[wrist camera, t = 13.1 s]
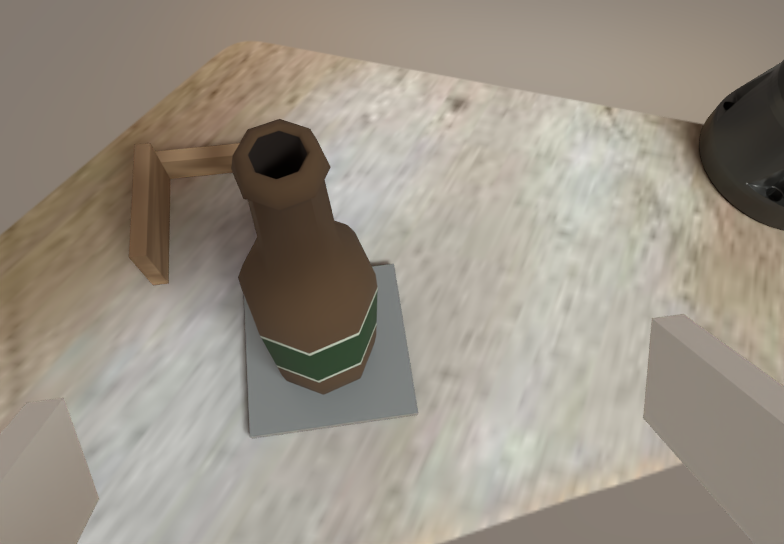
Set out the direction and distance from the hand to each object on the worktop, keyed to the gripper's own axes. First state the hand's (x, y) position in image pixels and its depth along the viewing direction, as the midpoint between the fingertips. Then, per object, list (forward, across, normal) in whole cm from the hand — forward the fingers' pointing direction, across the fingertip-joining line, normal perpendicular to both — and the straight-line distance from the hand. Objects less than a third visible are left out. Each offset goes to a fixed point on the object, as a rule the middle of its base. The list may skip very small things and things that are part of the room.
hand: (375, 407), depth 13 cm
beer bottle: (+28, -3, -13) cm, 31 cm away
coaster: (+28, -2, -13) cm, 31 cm away
